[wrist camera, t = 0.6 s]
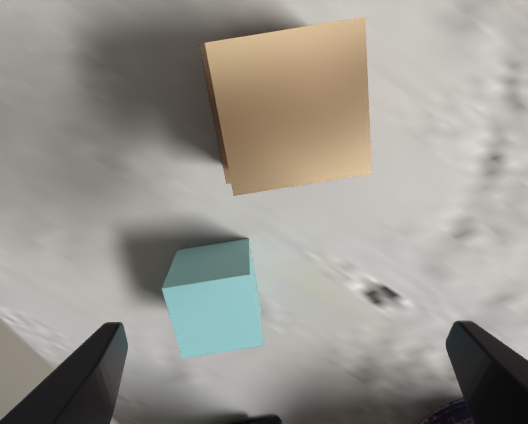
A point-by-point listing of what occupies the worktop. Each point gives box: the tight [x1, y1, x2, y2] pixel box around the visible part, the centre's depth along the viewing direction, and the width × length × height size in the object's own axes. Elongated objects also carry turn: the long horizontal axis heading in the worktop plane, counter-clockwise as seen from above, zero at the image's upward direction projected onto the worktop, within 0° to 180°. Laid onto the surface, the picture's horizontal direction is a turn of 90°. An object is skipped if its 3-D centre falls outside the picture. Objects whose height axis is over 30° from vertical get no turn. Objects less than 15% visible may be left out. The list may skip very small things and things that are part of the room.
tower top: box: [205, 17, 372, 196], centre depth 13 cm, size 5×5×4 cm
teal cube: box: [162, 238, 263, 359], centre depth 20 cm, size 4×4×4 cm
